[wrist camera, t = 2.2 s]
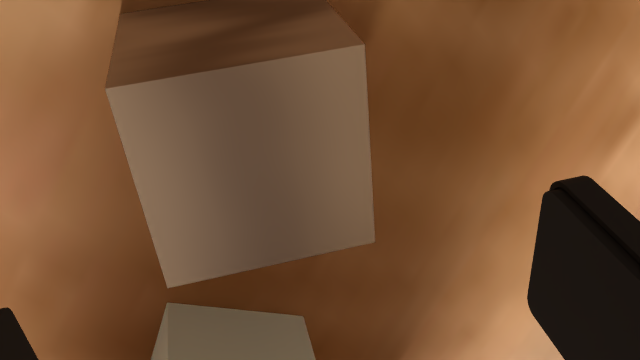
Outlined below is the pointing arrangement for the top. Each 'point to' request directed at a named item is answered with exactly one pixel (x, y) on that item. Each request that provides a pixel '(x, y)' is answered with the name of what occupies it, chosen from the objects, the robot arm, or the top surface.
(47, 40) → the top surface
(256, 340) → the sage cube
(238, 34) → the walnut cube
